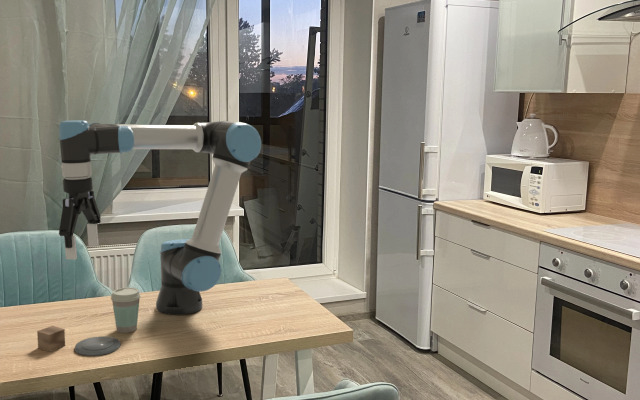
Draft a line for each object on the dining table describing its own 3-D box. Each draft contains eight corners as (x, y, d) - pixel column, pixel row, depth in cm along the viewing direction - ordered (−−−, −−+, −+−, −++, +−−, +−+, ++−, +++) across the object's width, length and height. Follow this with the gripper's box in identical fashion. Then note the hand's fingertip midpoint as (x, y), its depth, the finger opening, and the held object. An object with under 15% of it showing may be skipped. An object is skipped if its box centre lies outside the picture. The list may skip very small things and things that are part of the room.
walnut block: (53, 342, 181) (52, 325, 180) (65, 346, 179) (64, 329, 178) (38, 348, 177) (37, 331, 176) (50, 352, 174) (49, 334, 174)
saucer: (110, 335, 187) (109, 332, 186) (127, 348, 178) (127, 345, 177) (68, 345, 179) (68, 341, 179) (84, 359, 170) (84, 355, 170)
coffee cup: (130, 322, 198) (129, 285, 196) (147, 329, 193) (146, 291, 191) (106, 329, 191) (104, 291, 189) (122, 336, 186) (121, 297, 184)
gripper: (84, 170, 186) (89, 240, 190) (40, 184, 162) (47, 264, 166) (109, 170, 185) (114, 241, 189) (68, 184, 161) (75, 265, 165)
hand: (82, 252), depth 178 cm, fingers open, 13 cm apart
